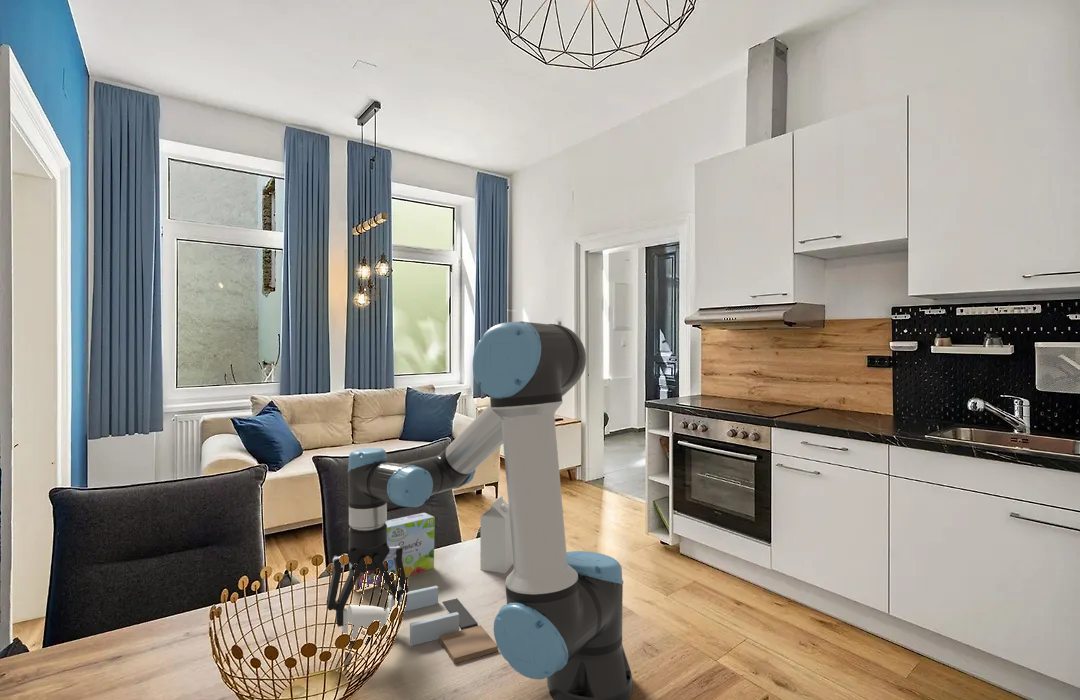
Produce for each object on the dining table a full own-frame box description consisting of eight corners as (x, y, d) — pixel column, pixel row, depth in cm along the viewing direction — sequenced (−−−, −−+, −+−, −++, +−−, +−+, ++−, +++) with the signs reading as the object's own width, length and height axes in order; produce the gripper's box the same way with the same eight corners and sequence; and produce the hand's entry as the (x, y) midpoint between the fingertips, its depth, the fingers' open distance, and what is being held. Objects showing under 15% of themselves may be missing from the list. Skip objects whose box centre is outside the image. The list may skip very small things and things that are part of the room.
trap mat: (477, 625, 116) (477, 623, 116) (461, 629, 114) (461, 627, 114) (457, 600, 127) (457, 598, 127) (442, 603, 125) (442, 601, 125)
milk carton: (480, 572, 143) (480, 501, 143) (490, 562, 150) (490, 494, 150) (505, 575, 141) (505, 503, 141) (514, 565, 148) (514, 496, 148)
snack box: (357, 596, 129) (357, 533, 129) (348, 588, 133) (348, 527, 133) (435, 572, 143) (435, 515, 143) (424, 565, 148) (424, 510, 147)
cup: (389, 593, 115) (349, 596, 111) (397, 630, 107) (354, 635, 103) (382, 619, 117) (343, 623, 113) (390, 658, 108) (348, 663, 105)
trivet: (497, 651, 106) (497, 646, 106) (454, 663, 102) (454, 658, 102) (480, 629, 114) (480, 625, 114) (439, 640, 110) (439, 635, 110)
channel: (459, 633, 112) (459, 614, 112) (411, 645, 108) (411, 626, 108) (436, 602, 126) (436, 585, 126) (393, 612, 121) (393, 594, 121)
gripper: (414, 512, 119) (415, 614, 119) (309, 527, 109) (310, 639, 109) (424, 521, 113) (424, 629, 113) (313, 539, 103) (314, 657, 103)
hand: (368, 634), depth 111 cm, fingers closed on cup, 9 cm apart
